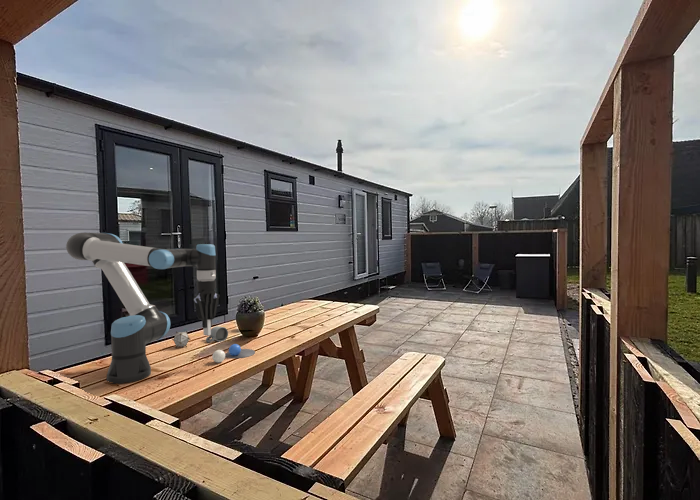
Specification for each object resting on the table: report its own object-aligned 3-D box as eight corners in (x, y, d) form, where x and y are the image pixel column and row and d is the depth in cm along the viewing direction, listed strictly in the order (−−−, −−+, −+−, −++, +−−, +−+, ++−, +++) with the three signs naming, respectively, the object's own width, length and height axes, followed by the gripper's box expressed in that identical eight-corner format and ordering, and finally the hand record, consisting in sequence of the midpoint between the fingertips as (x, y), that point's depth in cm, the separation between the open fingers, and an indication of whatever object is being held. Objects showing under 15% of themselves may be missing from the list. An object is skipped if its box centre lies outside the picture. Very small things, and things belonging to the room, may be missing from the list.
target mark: (227, 360, 163) (227, 359, 163) (222, 351, 175) (222, 351, 175) (258, 355, 169) (258, 355, 169) (251, 347, 182) (251, 347, 182)
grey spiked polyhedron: (182, 355, 182) (181, 342, 177) (169, 348, 184) (166, 335, 178) (195, 342, 190) (193, 330, 184) (181, 336, 191) (179, 323, 185)
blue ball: (231, 342, 167) (240, 340, 172) (224, 349, 168) (232, 346, 173) (237, 353, 165) (245, 350, 170) (229, 359, 167) (237, 356, 172)
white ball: (226, 348, 164) (225, 360, 163) (213, 348, 162) (213, 361, 162) (224, 350, 158) (224, 363, 158) (211, 351, 157) (211, 364, 157)
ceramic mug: (221, 337, 202) (220, 323, 202) (228, 340, 197) (228, 326, 196) (203, 341, 194) (202, 327, 194) (210, 344, 189) (209, 330, 189)
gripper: (200, 282, 146) (201, 339, 147) (224, 278, 158) (225, 332, 158) (187, 281, 149) (188, 337, 150) (211, 278, 161) (212, 330, 161)
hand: (207, 334), depth 154 cm, fingers closed
